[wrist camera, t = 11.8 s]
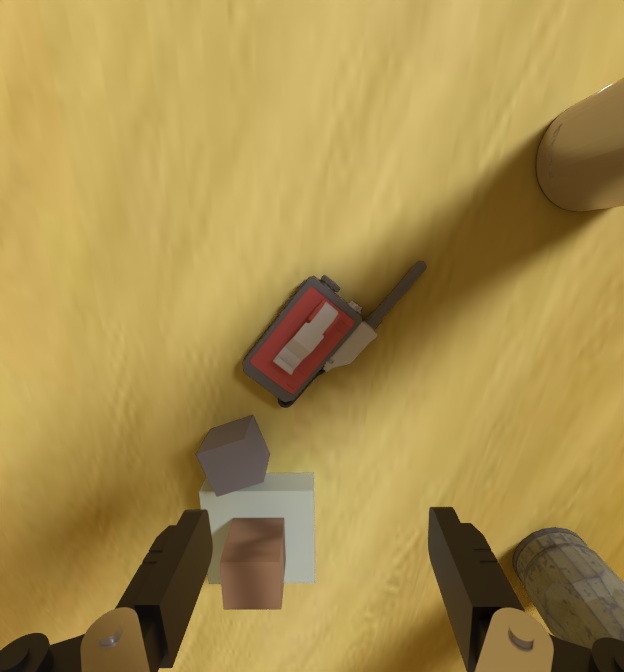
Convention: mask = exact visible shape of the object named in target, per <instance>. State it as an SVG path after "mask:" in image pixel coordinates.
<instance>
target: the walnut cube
mask: <svg viewBox="0 0 624 672" xmlns="http://www.w3.org/2000/svg"><path fill="white" fill-rule="evenodd" d="M219 564H220V575H221V586H222V597H223V608H224V609H281V608H282V597H283V586H284V575H285V564H286V549H285V520H284V518H233V519H232V522H231V526H230V529H229V532H228V535H227V539H226V542H225V545H224V549H223V552H222V555H221V559H220V562H219Z"/></svg>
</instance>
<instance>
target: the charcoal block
mask: <svg viewBox="0 0 624 672" xmlns="http://www.w3.org/2000/svg"><path fill="white" fill-rule="evenodd" d="M196 456H197V458H198V460H199V462H200V464H201V466H202V468H203V470H204V472H205V474H206V476H207V478H208V480H209V482H210V484H211V487H212V489H213V491H214V493H215V495H216V497H218V496H222V495H225V494H228V493H231V492H234V491H238V490H241V489H244V488H247V487H250V486H254V485H257V484H260V483H263V482H264V479H265V474H266V470H267V465H268V461H269V456H270V452H269V450H268V448H267V446H266V443H265V441H264V439H263V436H262V434H261V432H260V430H259V427H258V425H257V423H256V420H255V418H254V416H253V415H251V416H248V417H245V418H242V419H239V420H236V421H233V422H230V423H227V424H224V425H221V426H218V427H215V428H212V429H210V431H209V433H208V434H207V436H206V438H205V440H204V441H203V443H202V445H201V446H200V448H199V450H198V452H197V453H196Z"/></svg>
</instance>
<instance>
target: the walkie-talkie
mask: <svg viewBox="0 0 624 672" xmlns="http://www.w3.org/2000/svg"><path fill="white" fill-rule="evenodd" d="M425 269H426V263H425V262H424V261H419V262H417V263H416V264H415V265H414V267H413V268H412V269H411V270H410V271H409V272H408V273H407V275H406V276H405V277H404V278H403V279H402V280H401V281H400V283H399V284H398V285H397V286H396V287H395V288H394V290H393V291H392V292H391V293H390V294H389V295H388V296H387V298H386V299H385V300H384V301H383V302H382V303H381V304H380V306H379V307H378V308H377V309H376V310H375V311H374V312H373V313H371V314H370V315H369V316H368V317H367V319H366V320H365V321H362V316H361V315H360V313H361V312H360V311H361V310H362V308H361V307H360V306H359V305H358V304H356V303H355V302H353V301H351V302H350V303H346V302H345V301H344V300H343V299H342V298H340V297H339V296H338V295H337V294H336V293H334V292H338V291H339V290H340V287H339V286H338V285H337V284H336V283H335V282H333V281H332V280H331V279H330V278H328V277H327V276H326V275H323V277H322V278H321V280H322V282H321V281H320V280H318V279H317V278H316V277H315V276H312V277H309V278H308V279H307V280H306V281H305V280H304V281H303V283H302V284H301V285H300V286H299V290H298V291H297V293H296V294H295V295H294V296H292V297H291V298H290V299H289V300H288V301H287V303H286V304H285V306H286V307H285V308H284V309H283V310H282V312H281V314H279V315H278V317H277V318H276V319H275V321H274V322H273V323H272V324H271V326H269V328H268V330H266V331H265V333H264V334H263V335H262V337H261V338H260V339H259V340H258V342H257V343H256V344H255V346H253V348H252V349H251V350H250V351H249V353H248V354H247V355H246V357H245V358H244V360H243V371H244V372H245V373H246V374H247V375H248V376H249V377H251V378H252V379H253V380H255V381H256V382H257V383H259V384H260V385H261V386H263V387H264V388H266V389H267V390H268V391H270V392H271V393H272V394H274V395H275V396H276V397H278V403H279V404H280V406H281V407H284V408H286V407H289V406H291V405H292V404H293V403H294V402H295V401H296V400H297V398H298V397H299V396H300V395H301V394H302V393H303V392H304V390H305V389H306V388H307V387H308V386H309V385H310V383H311V382H312V381H313V380H314V379H315V378H316V377H317V376H318V375H321V374H323V373H324V372H325V371H327V372H329V371H330V370H331V368H335V367H339V366H343V365H348V364H351V363H352V362H353V361H354V359H355V358H356V357H357V356H358V355H359V354H360V353H361V352H362V350H363V349H364V348H365V347H366V346H367V345H368V344H369V343H370V341H373V340H374V339H375V338H376V337H377V336H378V334H377V333H376V331H374V330H375V329H376V327H377V326H378V325H379V324H380V323H381V322H382V318H383V317H384V316H385V315H386V314H387V313H388V312H389V310H390V309H391V308H392V307H393V306H394V305H395V304H396V302H397V301H398V300H399V299H400V298H401V297H402V296H403V294H404V293H405V292H406V291H407V290H408V289H409V288H410V286H411V285H412V284H413V283H414V282H415V281H416V280H417V278H418V277H419V276H420V275H421V274H422V273H423V272H424V270H425ZM322 366H323V368H322ZM283 401H284V402H283Z"/></svg>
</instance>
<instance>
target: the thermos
mask: <svg viewBox="0 0 624 672" xmlns="http://www.w3.org/2000/svg"><path fill="white" fill-rule="evenodd" d="M513 567H514V569H515V571H516V574H517V576H518V577H519V579H520V580H521V581H522V582H523V584H524V586H525V589H526V591H527V594H528V596H529V597H530V599H531V601H532V602H533V604H534V606H535V607H536V609H537V610H538V612H539V614H540V615H541V617H542V619H543V620H544V622H545V623H546V625H547V627H548V628H549V630H550V632H551V633H552V634H553V635H555V636H556V637H557V638H559V639H561V640H564V641H567V642H570V643H574V644H577V645H580V646H583V647H586V648H589V649H592V646H593V643H594V642H595V641H596V640H597V639H599V638H603V637H609V638H615V639H619V640H621V641H624V583H623V581H622V580H621V579H620V578H619V577H618V576H617V575H616V574H615V573H614V572H613V571H612V570H611V568H610V567H609V566H608V565H607V564H606V563H605V562H604V561H603V560H602V559H601V558H600V557H599V556H598V555H597V554H596V553H595V552H594V551H593V550H591V549H589V548H588V547H587V545H586V544H585V542H584V541H583V540H582V539H581V538H580V537H579V536H578V535H577V534H576V533H574V532H572V531H570V530H567V529H563V528H556V527H555V528H547V529H542V530H539V531H537V532H534V533H532V534H531V535H529V536H528V537H526V538H525V539H524V540H523V541H522V542H521V543H520V544H519V546H518V547H517V548H516V551H515V554H514V556H513Z"/></svg>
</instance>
